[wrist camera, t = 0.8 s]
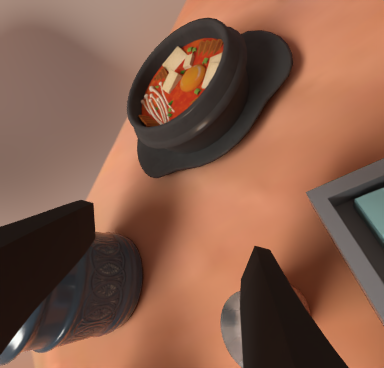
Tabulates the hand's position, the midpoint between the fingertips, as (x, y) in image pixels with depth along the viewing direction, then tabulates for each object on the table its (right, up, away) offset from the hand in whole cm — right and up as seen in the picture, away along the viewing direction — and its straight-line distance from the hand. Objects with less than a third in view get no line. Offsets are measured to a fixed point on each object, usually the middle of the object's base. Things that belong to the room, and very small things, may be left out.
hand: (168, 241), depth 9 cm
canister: (-10, -12, +21) cm, 26 cm away
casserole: (+3, +13, +21) cm, 25 cm away
